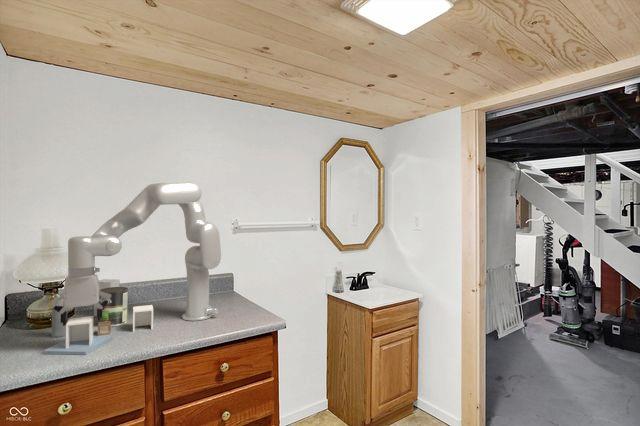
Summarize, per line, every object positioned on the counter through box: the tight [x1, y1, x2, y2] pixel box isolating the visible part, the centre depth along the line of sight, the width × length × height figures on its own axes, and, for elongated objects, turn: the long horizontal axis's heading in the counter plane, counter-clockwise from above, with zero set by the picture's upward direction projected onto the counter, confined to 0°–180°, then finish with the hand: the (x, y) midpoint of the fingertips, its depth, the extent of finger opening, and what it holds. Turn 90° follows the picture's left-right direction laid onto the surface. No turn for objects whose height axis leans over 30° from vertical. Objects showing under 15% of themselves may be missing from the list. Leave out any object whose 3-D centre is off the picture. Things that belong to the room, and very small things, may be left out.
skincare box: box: [93, 278, 121, 318], centre depth 154 cm, size 8×7×16 cm
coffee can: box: [98, 286, 129, 328], centre depth 143 cm, size 10×10×14 cm
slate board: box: [42, 335, 114, 356], centre depth 118 cm, size 14×14×1 cm
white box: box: [65, 315, 95, 349], centre depth 118 cm, size 7×7×8 cm
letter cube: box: [97, 321, 112, 336], centre depth 131 cm, size 4×4×4 cm
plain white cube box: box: [132, 304, 154, 333], centre depth 138 cm, size 7×7×8 cm
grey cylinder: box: [51, 305, 68, 338], centre depth 128 cm, size 4×4×10 cm
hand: (82, 322), depth 118 cm, fingers open, 9 cm apart
